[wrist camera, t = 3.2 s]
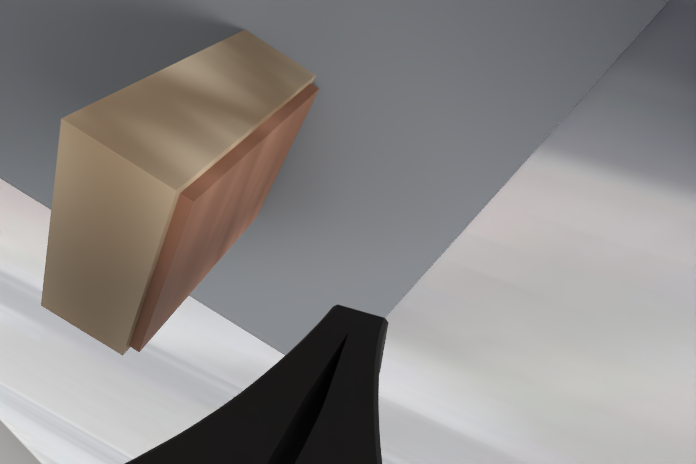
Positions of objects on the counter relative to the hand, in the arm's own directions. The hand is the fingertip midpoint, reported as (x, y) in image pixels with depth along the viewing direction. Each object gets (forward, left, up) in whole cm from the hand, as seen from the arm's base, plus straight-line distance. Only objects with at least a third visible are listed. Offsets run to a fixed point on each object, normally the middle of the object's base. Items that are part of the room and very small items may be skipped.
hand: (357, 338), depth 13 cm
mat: (+7, 0, -5) cm, 9 cm away
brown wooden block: (+6, 0, -5) cm, 8 cm away
